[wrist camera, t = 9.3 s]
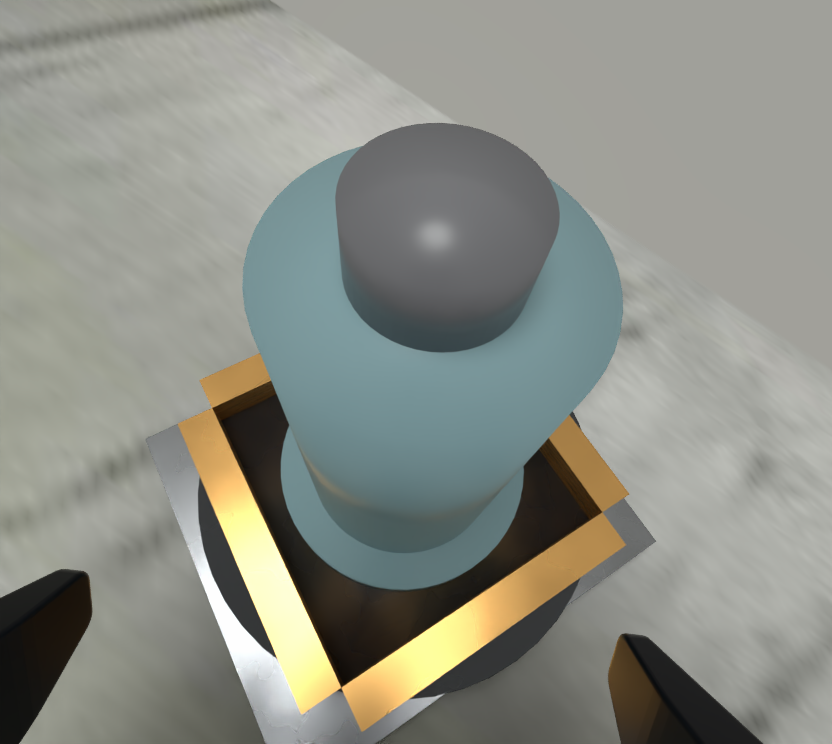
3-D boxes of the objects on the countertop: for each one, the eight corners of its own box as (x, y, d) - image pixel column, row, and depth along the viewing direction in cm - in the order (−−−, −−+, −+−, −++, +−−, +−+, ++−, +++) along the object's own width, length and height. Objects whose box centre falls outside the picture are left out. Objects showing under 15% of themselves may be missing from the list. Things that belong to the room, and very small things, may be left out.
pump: (475, 631, 16) (720, 629, 5) (245, 538, 17) (-24, 340, 6) (541, 394, 20) (765, 76, 9) (351, 326, 21) (323, -49, 9)
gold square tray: (294, 796, 17) (265, 855, 13) (154, 446, 22) (96, 397, 18) (644, 545, 22) (717, 521, 17) (464, 300, 27) (482, 231, 22)
